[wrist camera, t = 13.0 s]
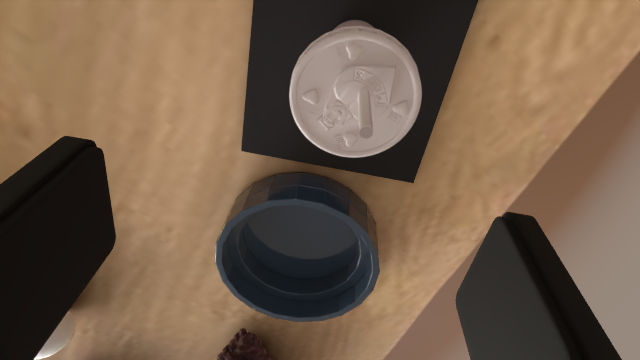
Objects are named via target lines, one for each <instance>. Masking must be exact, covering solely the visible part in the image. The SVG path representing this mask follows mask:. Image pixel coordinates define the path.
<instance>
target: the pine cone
mask: <svg viewBox="0 0 640 360" xmlns="http://www.w3.org/2000/svg"><path fill="white" fill-rule="evenodd" d="M217 360H272V359H271V357H270V356H269V355H268V354H267V351H266V349H265V347H264V346H262V341H261V340H260V339H257V338H256V335H255V334H254V333H250V332H248V333H247V332H246V330H245V329H244V328H242V329H240V331H239V332H238V333H237V334H236V335H235V336H234V339H232V340H231V341H230V343H229V345H227V346H226V347H225V348H224V349H223V352H222V353H220V354H219V355H218V357H217Z"/></svg>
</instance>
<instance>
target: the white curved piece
mask: <svg viewBox="0 0 640 360" xmlns="http://www.w3.org/2000/svg"><path fill="white" fill-rule="evenodd" d="M74 331H75V321H74V317H73V315H72V314H71V312H70V311H68V312H67V314H66V315H65V316H64V318H63V319H62V321H61V322H60V323H59V325H58V326H57V328H56V329H55V330H54V332H53V333H52V335H51V336H50V337H49V339H48V340H47V342H46V343H45V344H44V346H43V347H42V349H41V350H40V351H39V353H38V354H37V356H36V357H35V358H34V360H37V359H41V358H45V357H48V356H50V355H52V354H54V353H56V352H58V351H60V350H61V349H62V348H64V347H65V346H66V345H67V344H68V343H69V341H70V340H71V338H72V337H73V334H74Z"/></svg>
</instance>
